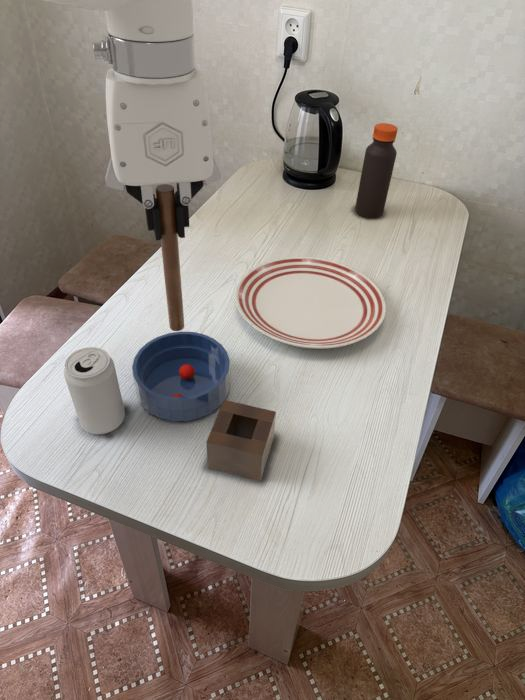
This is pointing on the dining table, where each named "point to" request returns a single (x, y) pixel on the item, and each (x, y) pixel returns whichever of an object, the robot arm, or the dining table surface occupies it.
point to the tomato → (186, 372)
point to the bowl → (164, 380)
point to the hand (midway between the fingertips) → (168, 232)
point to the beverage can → (94, 390)
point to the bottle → (377, 172)
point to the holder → (241, 440)
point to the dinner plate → (310, 302)
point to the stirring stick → (170, 255)
